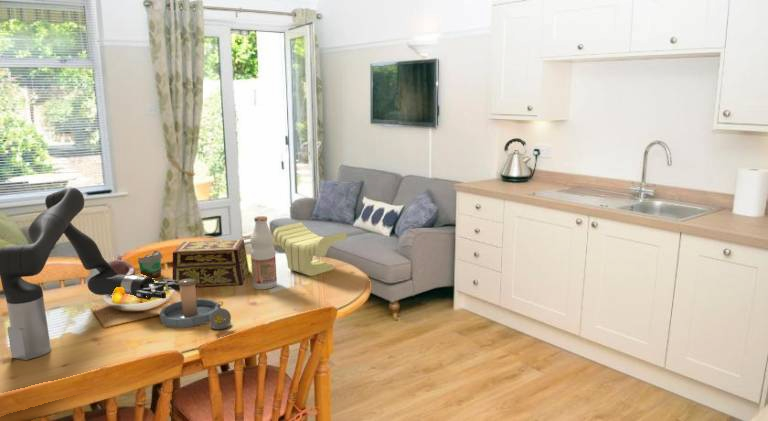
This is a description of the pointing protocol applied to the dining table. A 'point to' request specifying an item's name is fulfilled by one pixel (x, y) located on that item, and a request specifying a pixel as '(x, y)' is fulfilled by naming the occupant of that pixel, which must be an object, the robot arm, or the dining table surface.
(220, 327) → the grey rounded piece
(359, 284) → the dining table surface
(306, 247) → the slatted curved stool
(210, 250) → the decorative box
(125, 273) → the mortar and pestle
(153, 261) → the food container
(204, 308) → the round tray
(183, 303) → the spice jar
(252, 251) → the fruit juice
